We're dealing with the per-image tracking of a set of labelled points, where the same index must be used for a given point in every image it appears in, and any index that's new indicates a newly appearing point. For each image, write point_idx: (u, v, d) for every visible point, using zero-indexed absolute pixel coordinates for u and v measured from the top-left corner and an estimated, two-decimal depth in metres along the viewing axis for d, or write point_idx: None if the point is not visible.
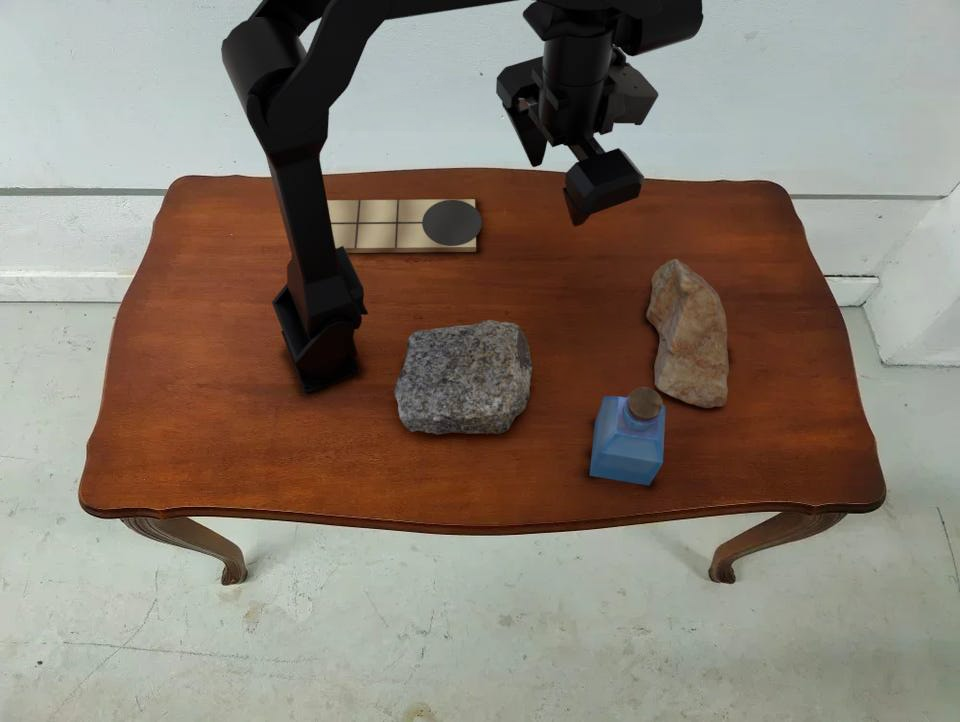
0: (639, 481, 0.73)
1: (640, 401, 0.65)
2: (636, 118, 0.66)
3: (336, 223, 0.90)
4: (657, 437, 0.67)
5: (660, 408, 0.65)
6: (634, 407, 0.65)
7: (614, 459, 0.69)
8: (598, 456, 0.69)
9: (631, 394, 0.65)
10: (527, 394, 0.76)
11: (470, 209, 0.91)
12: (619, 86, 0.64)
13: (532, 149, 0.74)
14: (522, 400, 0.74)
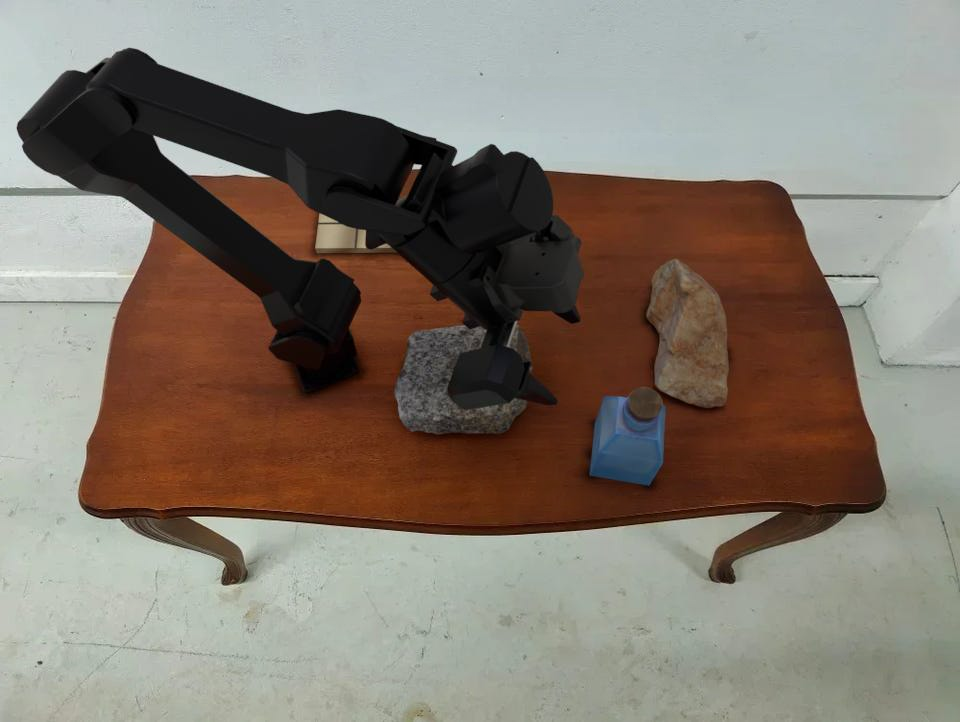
0: (639, 481, 0.73)
1: (640, 401, 0.65)
2: (548, 306, 0.55)
3: (336, 223, 0.90)
4: (657, 437, 0.67)
5: (660, 408, 0.65)
6: (634, 407, 0.65)
7: (615, 459, 0.69)
8: (598, 456, 0.69)
9: (631, 394, 0.65)
10: None
11: None
12: (514, 273, 0.55)
13: None
14: (522, 400, 0.74)
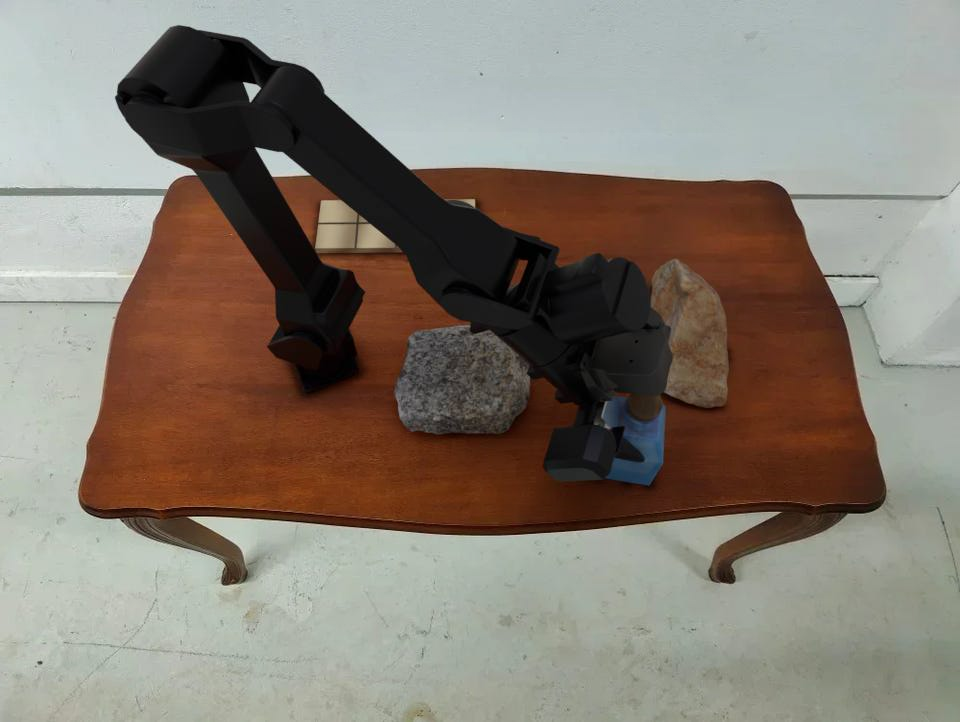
0: (639, 481, 0.73)
1: (640, 401, 0.65)
2: (641, 390, 0.59)
3: (336, 223, 0.90)
4: (657, 437, 0.67)
5: (660, 408, 0.65)
6: (635, 407, 0.65)
7: (615, 459, 0.69)
8: None
9: (631, 394, 0.65)
10: (527, 394, 0.76)
11: None
12: (608, 359, 0.59)
13: None
14: (522, 400, 0.74)
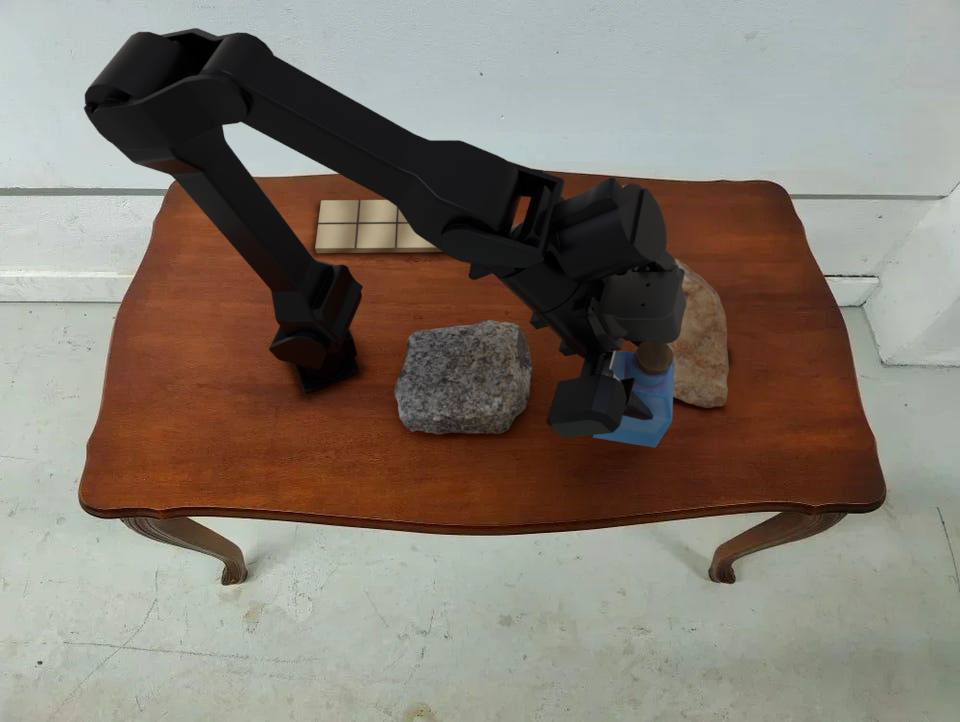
0: (645, 443, 0.69)
1: (650, 354, 0.61)
2: (653, 337, 0.55)
3: (336, 223, 0.90)
4: (667, 393, 0.63)
5: (671, 361, 0.61)
6: (644, 360, 0.61)
7: None
8: None
9: (640, 346, 0.61)
10: (527, 394, 0.76)
11: None
12: (618, 304, 0.55)
13: None
14: (522, 400, 0.74)
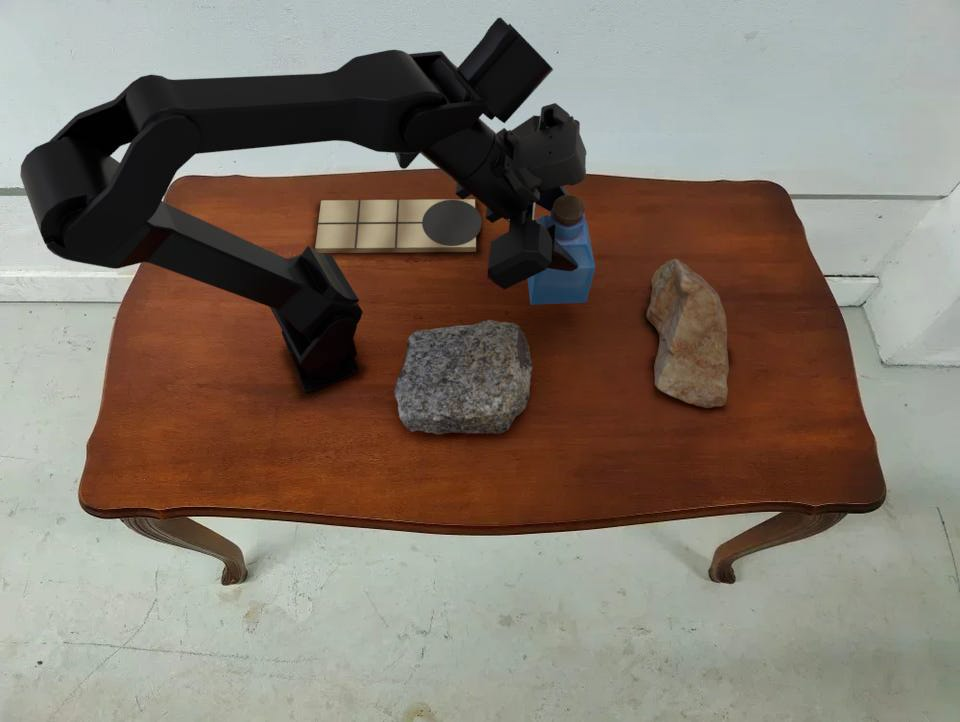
0: (577, 299, 0.78)
1: (564, 207, 0.69)
2: (564, 180, 0.63)
3: (336, 223, 0.90)
4: (586, 242, 0.71)
5: (584, 209, 0.69)
6: (560, 212, 0.69)
7: (551, 275, 0.74)
8: (535, 275, 0.73)
9: (555, 203, 0.70)
10: (527, 394, 0.76)
11: (470, 209, 0.91)
12: (529, 157, 0.63)
13: None
14: (522, 400, 0.74)
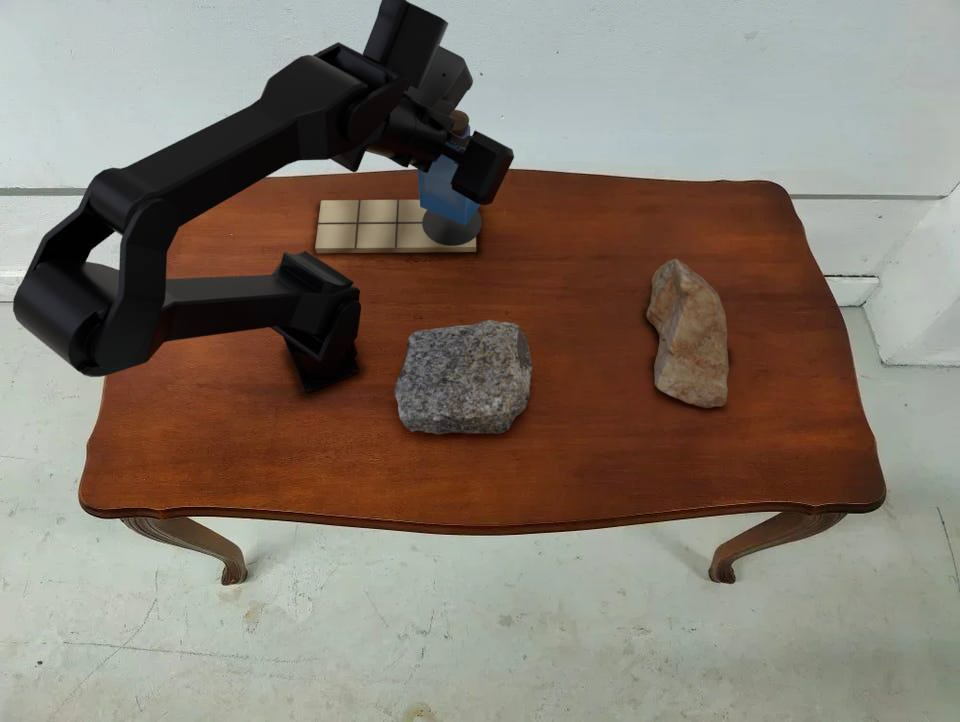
0: None
1: None
2: (465, 89, 0.69)
3: (336, 223, 0.90)
4: None
5: (464, 113, 0.76)
6: (456, 126, 0.75)
7: None
8: None
9: None
10: (527, 394, 0.76)
11: None
12: (432, 91, 0.68)
13: None
14: (522, 400, 0.74)
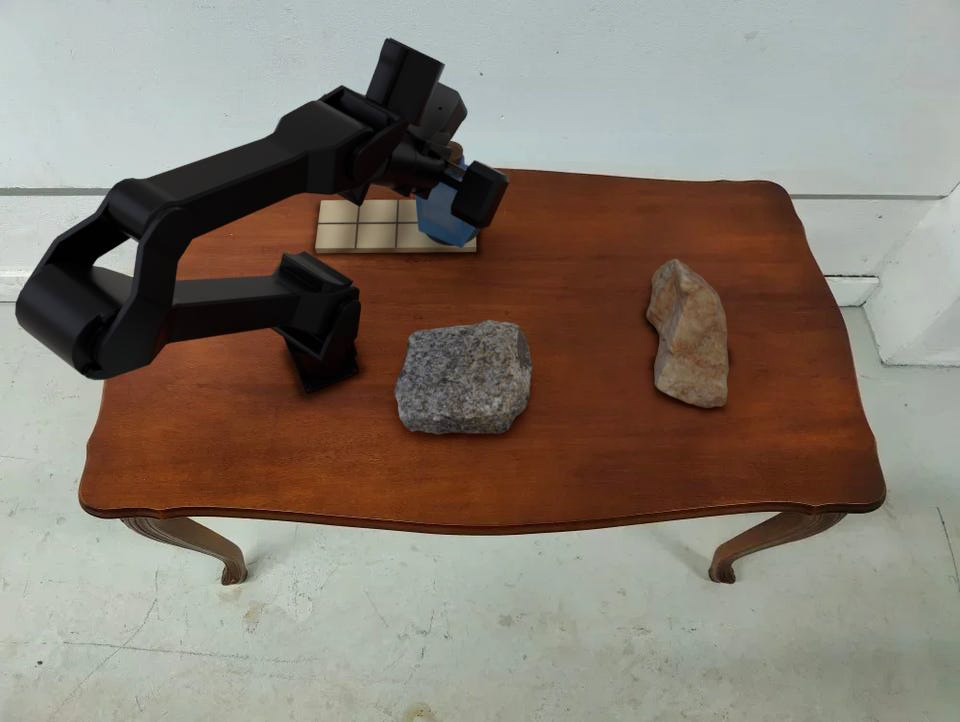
0: None
1: None
2: (460, 120, 0.73)
3: (336, 223, 0.90)
4: None
5: (458, 144, 0.80)
6: (450, 157, 0.79)
7: None
8: None
9: None
10: (527, 394, 0.76)
11: None
12: (429, 124, 0.71)
13: None
14: (522, 400, 0.74)
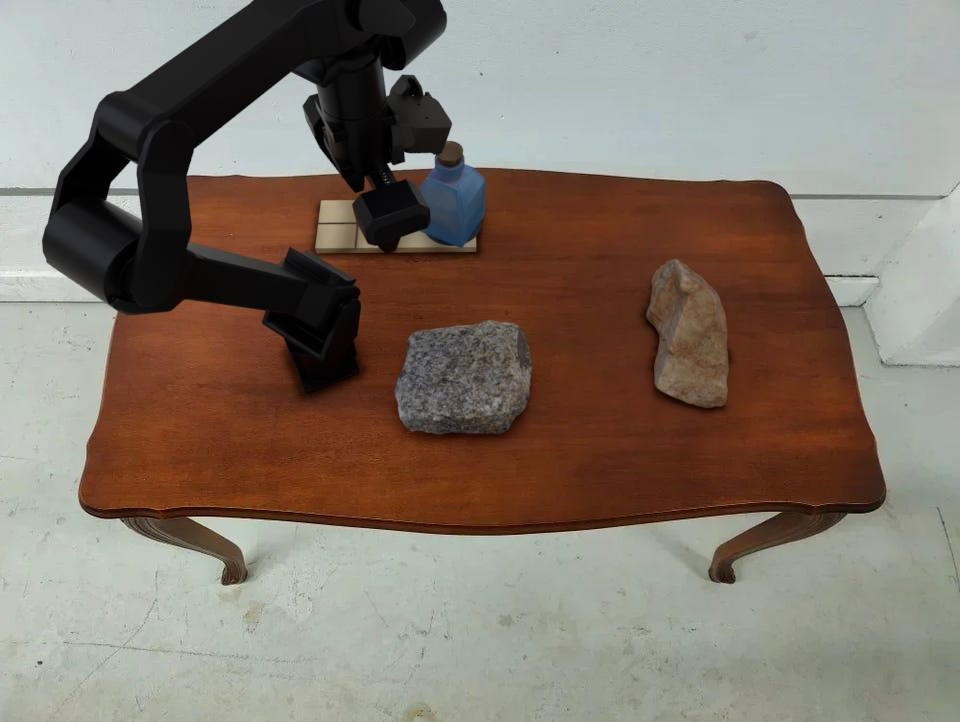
0: (480, 217, 0.90)
1: (447, 153, 0.79)
2: (432, 148, 0.66)
3: (336, 223, 0.90)
4: (470, 166, 0.83)
5: (458, 144, 0.80)
6: (450, 157, 0.79)
7: (468, 210, 0.84)
8: (461, 219, 0.83)
9: (439, 156, 0.79)
10: (527, 394, 0.76)
11: None
12: (407, 117, 0.64)
13: (349, 176, 0.74)
14: (522, 400, 0.74)
